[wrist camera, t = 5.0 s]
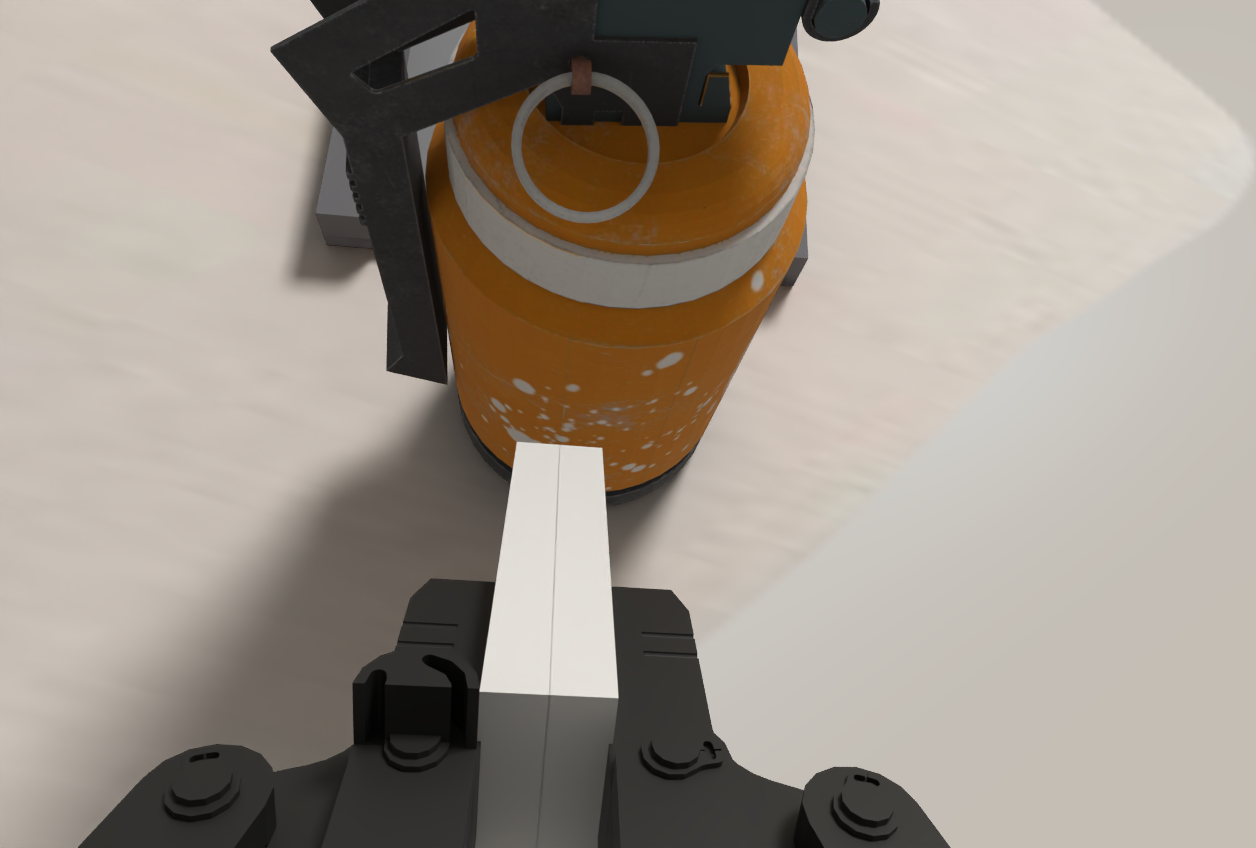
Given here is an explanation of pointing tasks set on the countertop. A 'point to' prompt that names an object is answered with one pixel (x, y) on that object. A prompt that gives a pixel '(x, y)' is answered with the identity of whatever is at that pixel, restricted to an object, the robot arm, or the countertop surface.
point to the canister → (576, 203)
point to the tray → (335, 191)
